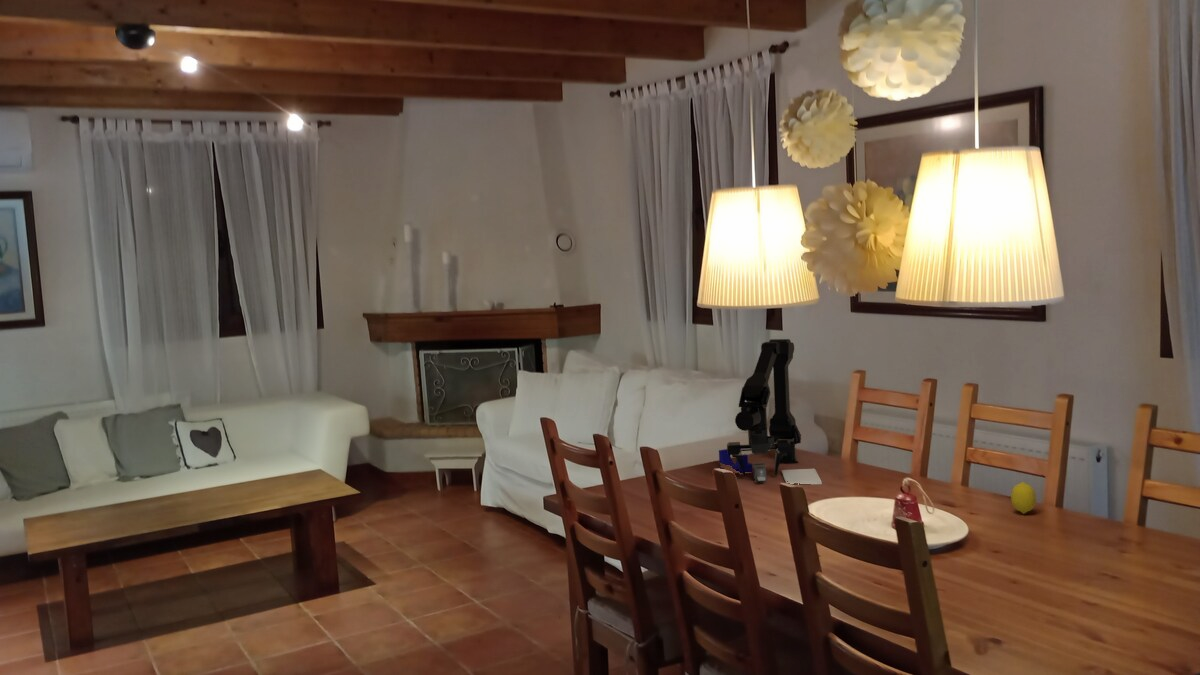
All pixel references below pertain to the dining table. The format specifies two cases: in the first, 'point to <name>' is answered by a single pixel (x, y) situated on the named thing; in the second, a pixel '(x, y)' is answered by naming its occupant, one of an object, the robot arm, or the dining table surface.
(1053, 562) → the dining table surface
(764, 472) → the connector
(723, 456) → the cable clip
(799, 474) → the mat
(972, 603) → the dining table surface
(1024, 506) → the lemon
